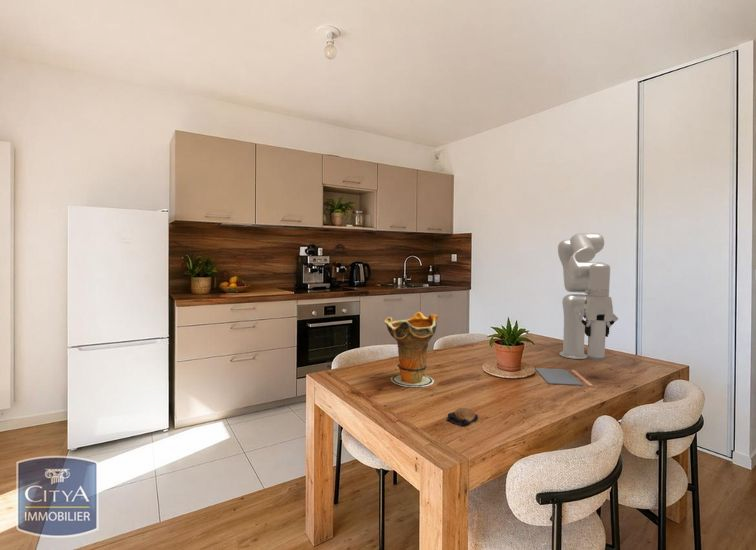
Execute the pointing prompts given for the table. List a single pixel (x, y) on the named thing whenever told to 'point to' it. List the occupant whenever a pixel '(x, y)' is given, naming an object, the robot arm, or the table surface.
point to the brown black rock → (462, 417)
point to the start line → (582, 378)
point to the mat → (558, 377)
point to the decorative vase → (412, 348)
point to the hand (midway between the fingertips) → (596, 335)
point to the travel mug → (597, 339)
